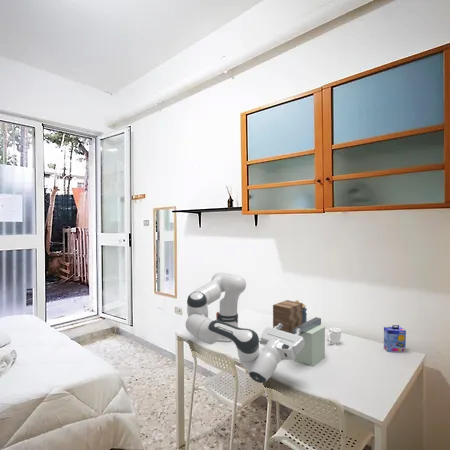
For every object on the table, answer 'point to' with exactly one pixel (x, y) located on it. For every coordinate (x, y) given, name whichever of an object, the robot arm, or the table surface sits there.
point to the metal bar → (308, 325)
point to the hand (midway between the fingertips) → (290, 326)
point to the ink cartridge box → (394, 339)
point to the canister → (303, 313)
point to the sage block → (312, 346)
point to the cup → (334, 335)
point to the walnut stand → (288, 315)
